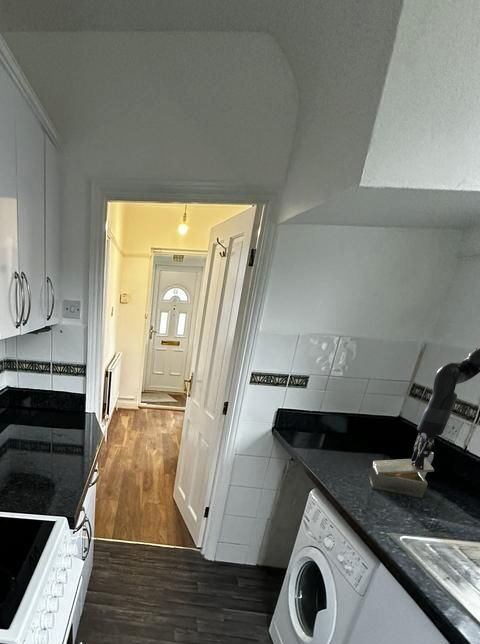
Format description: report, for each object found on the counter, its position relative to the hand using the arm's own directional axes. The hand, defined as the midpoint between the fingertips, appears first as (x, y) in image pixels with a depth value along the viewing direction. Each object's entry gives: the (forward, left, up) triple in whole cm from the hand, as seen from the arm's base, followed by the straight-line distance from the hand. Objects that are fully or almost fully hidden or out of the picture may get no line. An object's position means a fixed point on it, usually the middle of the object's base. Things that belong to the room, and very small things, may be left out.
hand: (415, 463), depth 155 cm
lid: (+4, 0, -2) cm, 4 cm away
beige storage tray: (+4, 0, -11) cm, 11 cm away
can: (-5, -15, -11) cm, 19 cm away
